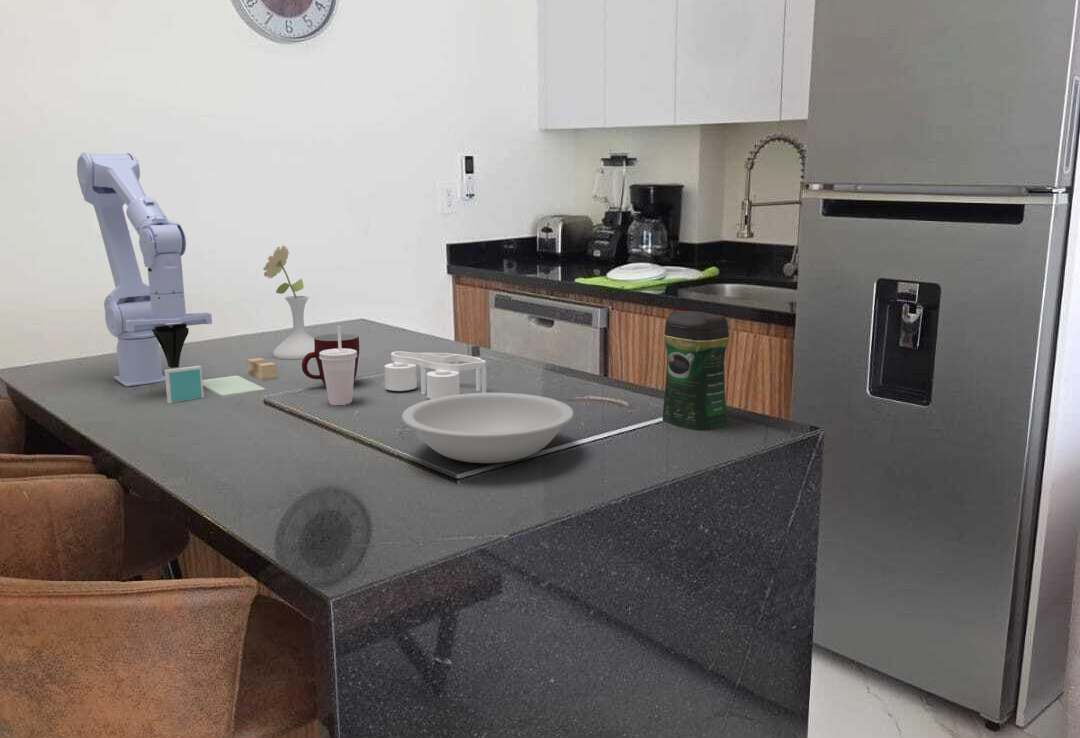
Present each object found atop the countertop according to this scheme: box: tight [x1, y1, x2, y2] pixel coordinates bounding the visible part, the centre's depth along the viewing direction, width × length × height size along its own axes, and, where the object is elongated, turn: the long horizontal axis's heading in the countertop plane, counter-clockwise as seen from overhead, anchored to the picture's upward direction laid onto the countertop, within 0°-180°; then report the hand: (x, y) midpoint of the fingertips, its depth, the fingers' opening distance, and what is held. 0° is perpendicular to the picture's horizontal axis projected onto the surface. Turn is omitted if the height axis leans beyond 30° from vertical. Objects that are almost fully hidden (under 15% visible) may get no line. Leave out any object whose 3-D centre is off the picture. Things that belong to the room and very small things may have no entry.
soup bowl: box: [401, 392, 575, 464], centre depth 132 cm, size 24×24×7 cm
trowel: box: [246, 357, 278, 382], centre depth 180 cm, size 15×5×4 cm, turn 37°
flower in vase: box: [263, 244, 315, 361], centre depth 199 cm, size 13×11×25 cm
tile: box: [164, 365, 205, 405], centre depth 166 cm, size 1×6×6 cm, turn 127°
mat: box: [202, 374, 266, 398], centre depth 176 cm, size 15×8×1 cm, turn 37°
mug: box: [301, 333, 360, 387], centre depth 173 cm, size 11×8×10 cm
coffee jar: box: [662, 310, 730, 431], centre depth 144 cm, size 10×8×19 cm
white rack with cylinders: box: [383, 350, 487, 400], centre depth 168 cm, size 20×11×7 cm, turn 50°
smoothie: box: [319, 325, 357, 406], centre depth 160 cm, size 6×6×14 cm
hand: (173, 366), depth 170 cm, fingers closed
